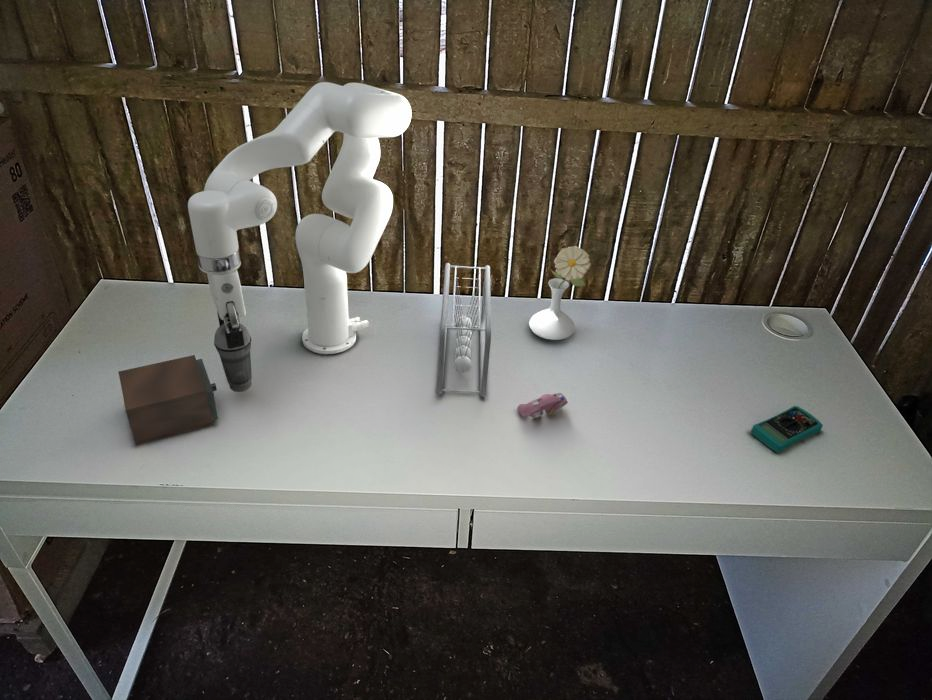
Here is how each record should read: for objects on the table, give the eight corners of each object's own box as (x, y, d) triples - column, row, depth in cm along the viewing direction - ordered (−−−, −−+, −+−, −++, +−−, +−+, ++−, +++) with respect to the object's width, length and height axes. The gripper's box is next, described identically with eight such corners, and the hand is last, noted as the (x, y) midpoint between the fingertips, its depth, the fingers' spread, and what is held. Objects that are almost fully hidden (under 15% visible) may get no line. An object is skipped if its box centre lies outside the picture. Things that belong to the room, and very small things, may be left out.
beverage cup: (249, 399, 148) (235, 318, 136) (216, 393, 149) (199, 312, 137) (264, 377, 154) (252, 298, 142) (232, 371, 155) (218, 293, 143)
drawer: (213, 384, 154) (207, 357, 150) (224, 417, 146) (219, 389, 141) (139, 401, 148) (132, 373, 144) (147, 436, 140) (139, 408, 136)
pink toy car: (523, 427, 152) (534, 414, 146) (514, 408, 154) (524, 394, 148) (561, 414, 156) (574, 401, 150) (552, 396, 158) (564, 382, 152)
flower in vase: (519, 330, 178) (530, 241, 164) (545, 313, 186) (558, 225, 171) (562, 353, 172) (578, 261, 157) (588, 333, 179) (605, 244, 164)
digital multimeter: (821, 432, 154) (826, 422, 152) (776, 455, 147) (781, 445, 146) (793, 412, 159) (797, 402, 157) (748, 434, 152) (752, 423, 150)
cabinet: (201, 388, 154) (194, 354, 148) (213, 425, 145) (206, 390, 140) (128, 406, 148) (118, 371, 143) (136, 445, 139) (125, 409, 134)
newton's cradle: (442, 321, 180) (445, 259, 169) (484, 323, 180) (490, 261, 169) (436, 398, 156) (439, 331, 145) (485, 401, 156) (491, 334, 145)
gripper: (250, 276, 128) (261, 356, 139) (229, 234, 141) (241, 310, 151) (206, 284, 126) (221, 365, 136) (189, 240, 138) (204, 317, 148)
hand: (232, 335), depth 144 cm, fingers closed on beverage cup, 6 cm apart
